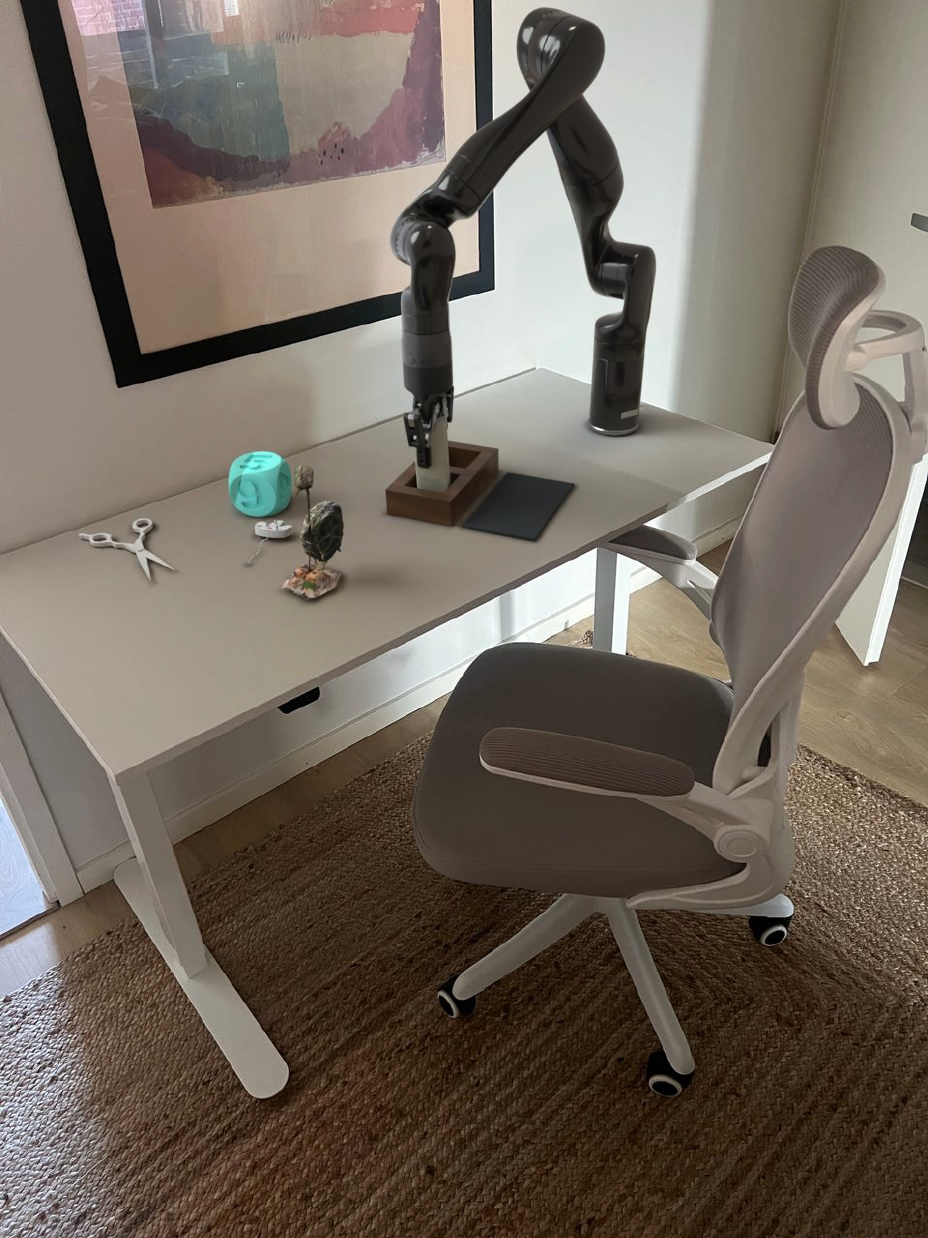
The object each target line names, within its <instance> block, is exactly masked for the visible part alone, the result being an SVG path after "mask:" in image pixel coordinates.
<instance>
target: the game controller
mask: <svg viewBox="0 0 928 1238" xmlns="http://www.w3.org/2000/svg"><path fill="white" fill-rule="evenodd" d="M254 533H255V535H256V536H261V537H265V538H266V539H268V538H273V539H274V538H275V539H282V538H283V539H284V538H287V537H289V536H290V535H293V526H292V525H291V524H290V525H289V524H285V525H284V521H283V520H282V519H281V520H278V519H274V520H273V522H271V523H268V521H258V522H257V523H256V524H255V525H254ZM266 539H262V541H261V542H260V544H259V546H258V551H257V553H256V554H255V555H254V554H253V555H252V556H251V557H250V559H249V560H248V565H250V562H251V560H252V558H253V557H255V556H257V555H258V553H259V552H260V550H261V545H262V543H263V542H264V541H266Z"/></svg>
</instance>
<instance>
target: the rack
mask: <svg viewBox="0 0 928 1238" xmlns="http://www.w3.org/2000/svg"><path fill="white" fill-rule="evenodd" d="M448 452H449V469H450V484H451V486H450V487H449V488H448V489H447V490H446V491H445V492H444V493H440V492H435V491H429V490H424V489H418V488H417V476H416V464H415V460H414V461H413V462H412V463H411V464H410V465H409V466H408V467H407V468H405V470H404V471H403V472H402V473H401V474H399V476H398V477H396V479H394V480H393V481H392V482H391V483H390V484H389V485H387V487H386V488H385V492H384V493H385V505H386V515H390V516H395V517H400V518H405V519H409V520H410V519H411V520H414V521H415V520H416V521H420V522H425V523H430V524H431V523H432V524H436V525H442V526H446V527H453V525H454V524H456V522H457V521H458V520H459V518H460V517H461V516H462V515H463V514H464V513H465V512H466V510H467V509H468V508H469V507H470V506H471V504H473V502H474V501H475V500H476V499H477V497H478V496H479V495H480V494H481V493H482V492H483V491H484V490H485V488H486V487H487V486H488V485H489V484H490V483H491V481H492V480H493V479H494V478H495V477H496V476H497V474H498V473H499V448H497V447H492V446H491V447H490V446H485V445H479V444H474V443H467V442H460V441H453V440H448Z"/></svg>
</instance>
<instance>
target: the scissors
mask: <svg viewBox="0 0 928 1238" xmlns="http://www.w3.org/2000/svg"><path fill="white" fill-rule="evenodd" d="M142 524H147V525H146V526H144V527H139V525H142ZM153 526H154V525H153V521H152V520H151V519H150V518H139V519H136V520H135V521H133V522H132V526H131V527H132V530H133V531H132V532H133V533H138V534H139V536H138V538H137V539H136V540H135V541H134V542H133V543H130V542H129V543H128V542H117V541H114V540H113V535H112V534H110V533H106V532H98V533H94V534H88V533H87V534H86V533H83V532H82V533H81V532H80V533H79V534H78V535H79V538H80V540H87V541H89V544H90V545H91V546H92V547H95V548H97V547H99V548H101V547H102V548H103V547H113V548H115V549H120V548H121V549H126V550H128V551H129V552H131V553H135V554H136V556H137V559H138V562H139V563H140V565H141V567H142V569H143V571H144V572H145V575H146V576H147V578H148V580H149V581H152V579H151V574H150V570H149V569H150V568H149V565H148V559H149V560H150V561H153V562H155V563H158V564H160V565H163V567H167V568H170V569H171V570H173V571H176V569H175V568H173V567H172V566H171V565H169V563H167V562H165V561H163V560H162V559H161V558H159V557H158V556H156V555H155V554H153V553H151V551H149V550H147V549H145V547H144V544H143V541H144V540H145V539H146V535H145V534H147V533H148V532H150V531H151V530H152V529H153ZM98 539H105V540H102V541H95V540H98Z"/></svg>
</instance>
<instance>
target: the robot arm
mask: <svg viewBox="0 0 928 1238" xmlns="http://www.w3.org/2000/svg"><path fill="white" fill-rule="evenodd" d="M605 56H606V40H605V35H604V33H603V31H602V30H601V28H600V27H599V26H597V24H595V23H593V22H592V21H590V20H588V19H586V18H583V17H580V16H577V15H575V14H572V13H569V12H567V11H565V10H562V9H558V8H555V7H550V6H549V7H547V6H542V7H541V6H540V7H538V8H537V7H536V8H535V9H533V10H531V11H530V12H528V14H526V16H525V17H524V18H523V20H522V22H521V24H520V26H519V29H518V34H517V37H516V59H517V64H518V67H519V70H520V72H521V75H522V77H523V80H524V82H525V84H526V86H527V88H528V91H529V92H528V93H527V94H526V95H525V96H524V97H523V98H522V99H521V100H519V101H518V102H517V103H516V104H514V105H512V107H511V108H510V109H508V110H507V111H505V112H504V113H502V114H501V115H499V116H498V117H496V118H494V119H492V120H491V121H490V122H488V123H486V124H485V125H483V126H482V127H481V128H479V129H478V130H477V131H475V132H474V133H473V134H472V135H471V136H469V137H468V138H467V139H466V140H465V141H464V143H462V144H461V146H460V147H459V148H458V150H456V152H455V154H454V155H453V157H452V158H451V159H450V160H449V162H448V163H447V164H446V165H445V168H444V169H443V170H442V171H441V172H440V174H439V176H438V177H437V179H436V180H435V181H434V182H433V183H432V184H431V185H430V186H428V187H427V188H425V190H423V191H422V192H421V193H420V194H419V195H418V196H417V197H416V198H415V199H413V201H411V202H410V204H409V205H407V206H406V207H405V208H404V209H403V211H402V212H400V214H399V216H398V217H397V218H396V220H395V221H394V223H393V225H392V227H391V231H390V235H389V246H390V250H391V252H392V254H393V255H394V257H395V258H396V259H397V260H399V261H400V262H402V263H403V264H405V265H406V266H409V267H410V282H409V283H410V284H409V285H408V286H406V287H405V288H404V289H403V291H402V293H401V297H400V311H401V325H402V326H401V327H402V329H401V330H402V331H401V356H402V372H403V386H404V388H405V389H406V390H407V391H408V392H409V393H411V395H412V396H413V397H412V399H413V400H412V408H411V409H412V410H411V412H410V413H408V412H405V413H403V423H404V424H403V425H404V429H405V435H406V440H407V445H408V447H410V448H414V447H416V451H417V465H418V467H420V468H425V469H429V468H430V467H431V466H432V460H431V446H430V445H431V437H432V433H433V432H435V427H436V419H438V418H439V417H440V414H441V415H442V416H446V422H447V430H448V429H449V424H451V423H452V422H453V417H454V416H453V413H454V397H455V385H454V364H453V363H454V361H453V339H452V333H451V326H450V325H451V322H450V321H451V320H450V304H449V303H450V302H449V299H450V293H451V290H452V286H453V279H454V273H455V269H456V261H457V249H456V243H455V239H454V236H453V234H452V231H451V230H450V228H451V227H452V226H453V225H454V224H455V223H456V222H458V221H463V220H469V219H471V218H472V217H474V216H475V215H476V213H477V212H478V211H479V210H480V209H481V207H482V206H483V205H484V203H485V202H486V201H487V199H488V198H489V197H490V195H491V194H492V193H493V191H494V190H495V188H496V187H497V186H498V185H499V183H500V182H501V180H502V179H503V178H504V177H505V175H506V174H507V173H508V172H509V170H510V169H511V168H512V167H513V165H514V164H515V163H516V162H517V160H518V159H519V158H521V156H522V155H524V154H525V152H526V151H527V150H528V149H529V148H530V147H531V146H532V145H533V144H534V143H535V142H536V141H537V140H538V139H539V138H540V137H541V136H542V135H543V134H544V133H545V132H546V133H545V134H546V135H547V139H548V141H549V144H550V147H551V150H552V154H553V156H554V159H555V162H556V167H557V169H558V174H559V177H560V180H561V184H562V186H563V190H564V193H565V196H566V198H567V201H568V204H569V206H570V209H571V213H572V217H573V220H574V223H575V226H576V231H577V234H578V237H579V243H580V247H581V253H582V258H583V263H584V269H585V274H586V278H587V281H588V284H589V287H590V289H591V290H592V291H593V292H594V293H595V294H597V295H599V296H601V297H606V298H610V299H611V298H612V299H616V300H620V301H621V300H622V301H623V306H622V310H621V311H616V312H612V313H607V314H604V315H602V316H600V317H599V318H597V319H596V321H595V323H594V330H593V332H594V333H593V349H592V369H591V385H590V400H589V401H590V402H589V417H588V422H587V423H588V427H589V429H590V430H591V431H593V432H594V433H597V434H600V435H603V436H613V437H614V436H615V437H617V436H618V437H619V436H626V435H630V434H633V433H635V432H636V431H638V430H639V428H640V427H639V426H640V410H641V409H640V408H641V400H642V399H641V398H642V388H643V376H644V366H645V365H644V364H645V354H646V353H645V352H646V341H647V330H648V327H649V322H650V319H651V313H652V312H651V311H652V304H653V303H652V301H653V294H654V288H655V282H656V275H657V257H656V254H655V251H654V250H653V248H652V247H651V246H649V245H644V244H638V243H631V242H624V241H617V240H615V238H614V237H613V236H612V234H611V232H610V231H611V230H610V228H609V222H610V220H611V218H612V216H613V214H614V212H615V211H616V209H617V207H618V205H619V203H620V200H621V198H622V196H623V191H624V187H625V182H624V181H625V179H624V172H623V169H622V166H621V161H620V157H619V153H618V149H617V147H616V145H615V142H614V140H613V138H612V136H611V134H610V133H609V131H608V129H607V128H606V126H605V125H604V123H603V121H601V119H600V117H599V116H598V115H597V113H596V112H595V110H594V109H593V107H592V106H591V104H590V103H589V102H588V100H587V99H586V97H585V96H584V93H585V92H586V91H587V90H588V89H589V87H590V86H591V85H592V84H593V82H594V81H595V79H596V78H597V77H598V75H599V73H600V71H601V69H602V66H603V64H604V61H605ZM422 423H426V424H430V425H429V427H425V426H423V424H422ZM424 432H426V438H425V436H424ZM413 436H414V437H413Z"/></svg>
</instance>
